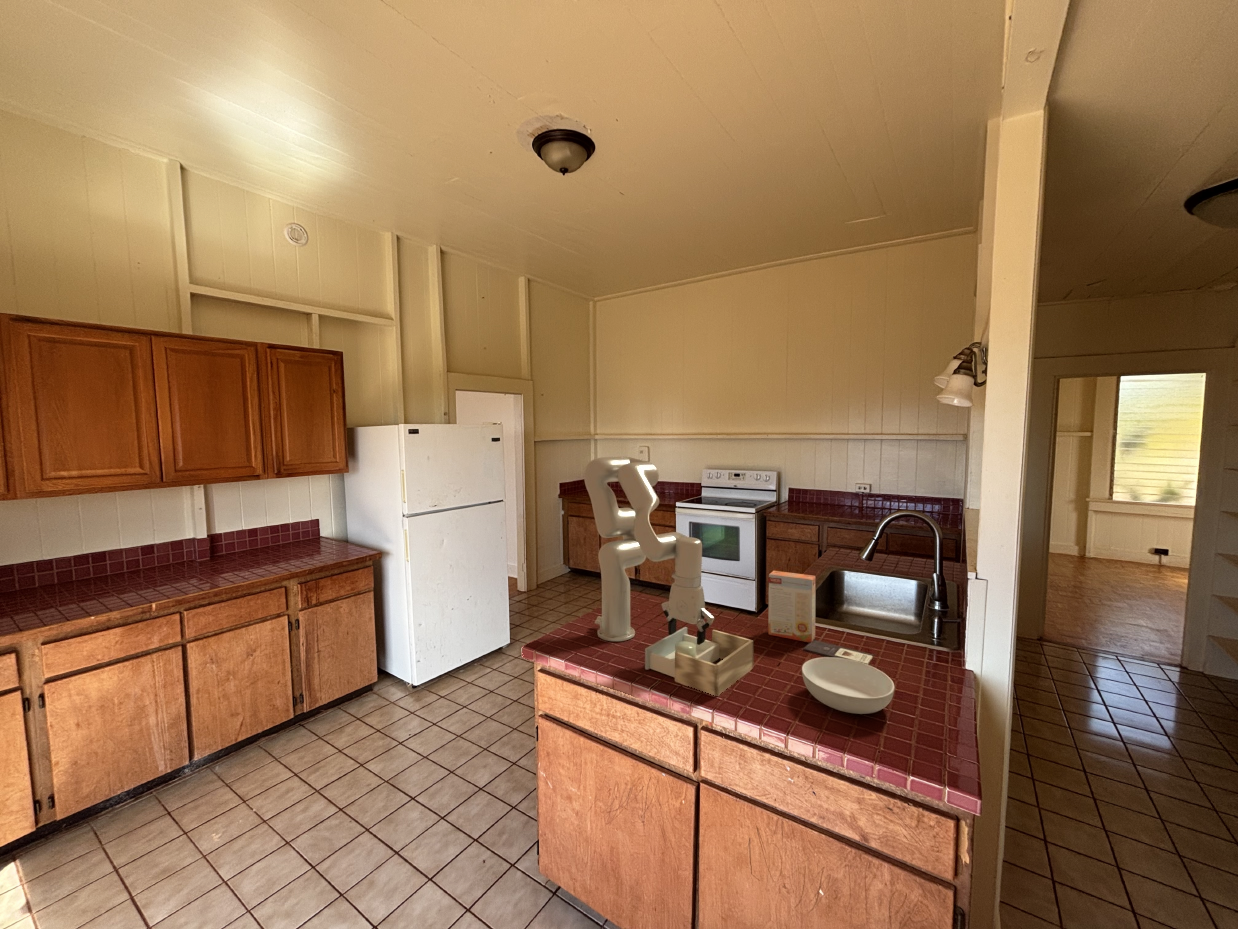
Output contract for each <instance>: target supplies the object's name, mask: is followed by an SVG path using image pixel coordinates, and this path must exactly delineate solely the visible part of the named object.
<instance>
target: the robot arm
mask: <svg viewBox="0 0 1238 929" xmlns="http://www.w3.org/2000/svg"><path fill="white" fill-rule="evenodd" d="M659 476H660V475H659V470H658V469H657V467H656V466H655V464H653V463H651V462H649V461H646V460H642V459H637V458H635V457H630V456H603V457H602V456H601V457H597V458H594V459H592V460H590V461H588V463H587V464H586V466H585V469H584V475H583V478H584V484H585V488H586V490H587V492H588V496H589V498H590V502H591V506H592V511H593V515H594V520H595V526H596V529H597V532H598V535H600V537H602V538H603V539H604V538H605V539H610V538H617V537H622V539H618V540H613V541H610V542H607V543H605V544H603V545H602V546H601V547H600V548H599V551H598V562H599V568H600V574H601V575H600V576H601V616H600V615H599V616H597V617H596V619H595V620H594V624H596V625H599V629H598V630H597V636H598V638H600V639H602V640H604V641H608V642H624V641H627V640H630V639H632V638H634V637H635V634H636V631H635V629H634V628H633V627H632V626H631V582H630V578H629V576H628V575H627V573H626V569H628V568H632V567H637V566H640V565H642V564H643V563H644V562H645V561H646V558H647V559H649V560H650V561H652V562H662V561H665V560H670V559H675V560H674V564H675V565H674V572H673V573H672V574H671V578H673V580H674V582H672V584H671V587H670V592H669V597H668V600H667V601H665V602H662V603H661V607H662V611H663V615H664V616H665V618H666V621H667V622H668V623H667V630H668V636H669V635H672V634H674V633H676V632H677V620H678V621H682V622H684V623H687V624H691V625H696V627H697V628H698V630H697V632H696V637H697V644H698V645H700V644H702V643H703V642H704V641H705V640H706V635H707V634H706V633H707V632H706V630H707V629H709V627H711V626H712V624H713V622H714V620H715V617H714V616H713V615H712V614H711V613H710V612H709V611H708V610H706V603H705V600H706V599H705V592H704V589H703V588H704V587H703V586H702V566H703V565H702V564H703V563H702V562H703V559H702V558H703V542H702V541H701V539H699V538H696V537H693V536H692V537H691V536H686V535H684V534H682V533H680V532H677V531H671V532H665V533H660V534H656V533H655V531H654V529H653V527H652V525H651V523H650V514H651V513H652V512H653V511H654V510H655V509H657V507H658V506H659V504H660V498H659V497H658V495H657V493H656V491H655V489H654V488H653V487H654V486H656V484H657V483H658V482H659ZM614 482H615V483H616V482H619V484H620V487H621V488H622V490H623V492H624V493H625V496H626V498H627V500H628V501H629V503H630V505H631V507H620V508H619V506H618V502H617V497H616V495H615V492H614V491H613V490H612V488H611V487H610V486H609V485H608V483H614ZM705 619H706V621H705Z"/></svg>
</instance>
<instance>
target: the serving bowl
mask: <svg viewBox="0 0 1238 929" xmlns="http://www.w3.org/2000/svg"><path fill="white" fill-rule="evenodd" d="M801 676H802V680H803V683H804V686H805V687H806V689H807V691H808V692H809V693H810V694H811V695H812V696H813V697H814V698H815V699H816V700H818V702H821V703H822V704H823V705H826V706H828V707H829V708H832V709H835V710H838V711H840V712H844V713H848V714H849V713H850V714H856V715H858V714H859V715H863V714H864V715H866V714H867V715H868V714H874V713H877V712H879V711H882V709H885V708H886V707H887V706H888V705H889V704H890V703H891V701H892V700H893V696H894V692H895V688H896V687H895V683H894V681H893V680H892V679H891V677H889V675H887V674H886V673H885V672H884V671H882V670H880V669H878V668H876V667H874V666H872V665H869V664H868V665H867V664H864V663H861V662H858V661H854V660H849V659H844V658H835V657H827V656H824V657H823V656H822V657H816V658H812V659H809V660H807V661H805V662H804V663H803V664H802V666H801Z"/></svg>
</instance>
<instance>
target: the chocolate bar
mask: <svg viewBox="0 0 1238 929" xmlns="http://www.w3.org/2000/svg"><path fill="white" fill-rule="evenodd" d="M807 643H808V644H807V645H804V647H803V648H802V651H804V652H807V653H812V654H817V655H820V656H822V657H823V656H824V657H835V658H844V659H849V660H854V661H858V662H861V663H864V664H867V665H869V664H870V662H871V661H872V659H873V658H874V656H875V654H874V653H869V652H865V651H862V650H861V651H860V650H857V649H852V648H849V647H845V646H840V645H837V644H832V643H829V642H824V641H821V640H816V639H814V640H813V641H812V642H807Z"/></svg>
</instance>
